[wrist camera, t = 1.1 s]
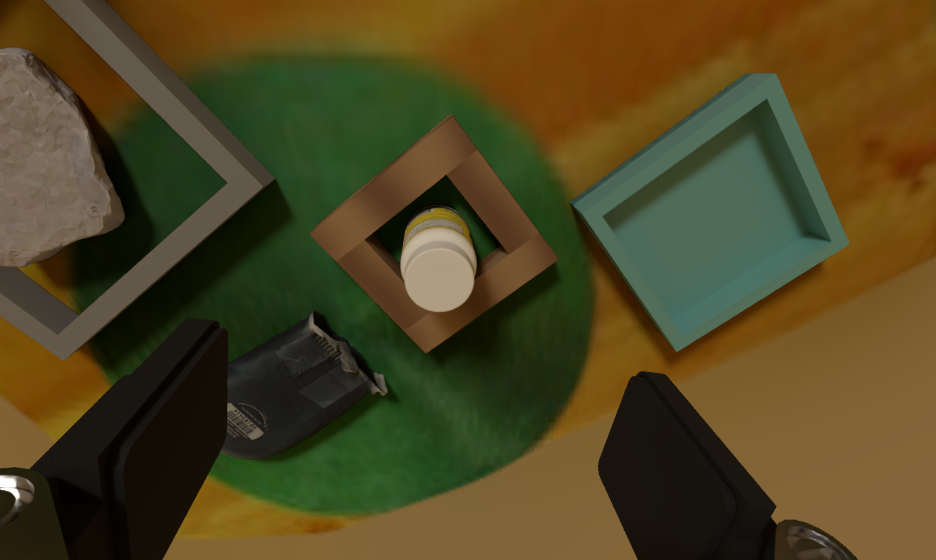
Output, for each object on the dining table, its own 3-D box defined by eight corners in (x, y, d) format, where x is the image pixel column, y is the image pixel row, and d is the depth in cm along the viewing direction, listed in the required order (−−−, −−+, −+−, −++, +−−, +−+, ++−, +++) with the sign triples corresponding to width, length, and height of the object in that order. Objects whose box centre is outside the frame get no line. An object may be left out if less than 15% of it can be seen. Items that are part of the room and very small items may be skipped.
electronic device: (312, 285, 37) (163, 395, 38) (310, 319, 32) (140, 445, 33) (385, 357, 42) (251, 454, 42) (393, 397, 37) (242, 506, 38)
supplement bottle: (460, 272, 36) (468, 326, 28) (398, 258, 35) (389, 310, 27) (477, 211, 34) (490, 252, 26) (412, 196, 33) (407, 233, 25)
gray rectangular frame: (-12, -122, 25) (-57, -141, 23) (275, 178, 32) (263, 186, 30) (-208, 124, 29) (-264, 128, 26) (87, 342, 36) (63, 360, 34)
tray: (745, 73, 31) (775, 73, 29) (818, 231, 36) (849, 243, 34) (569, 202, 34) (581, 213, 31) (659, 332, 39) (676, 352, 36)
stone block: (54, 34, 30) (-112, 93, 28) (8, 24, 25) (-189, 94, 24) (170, 206, 35) (33, 262, 34) (148, 222, 30) (-10, 287, 29)
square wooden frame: (451, 113, 31) (452, 116, 29) (550, 247, 35) (558, 259, 33) (317, 223, 33) (309, 234, 31) (426, 336, 38) (425, 353, 35)
